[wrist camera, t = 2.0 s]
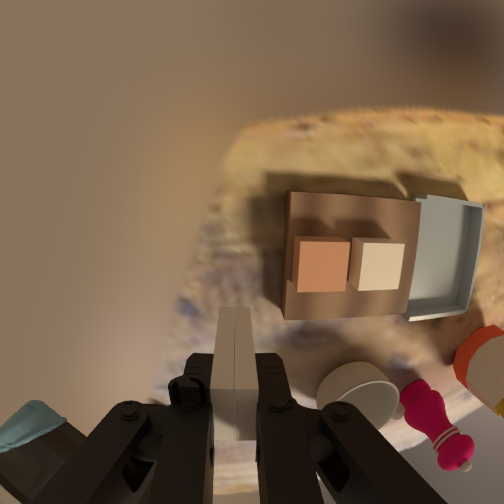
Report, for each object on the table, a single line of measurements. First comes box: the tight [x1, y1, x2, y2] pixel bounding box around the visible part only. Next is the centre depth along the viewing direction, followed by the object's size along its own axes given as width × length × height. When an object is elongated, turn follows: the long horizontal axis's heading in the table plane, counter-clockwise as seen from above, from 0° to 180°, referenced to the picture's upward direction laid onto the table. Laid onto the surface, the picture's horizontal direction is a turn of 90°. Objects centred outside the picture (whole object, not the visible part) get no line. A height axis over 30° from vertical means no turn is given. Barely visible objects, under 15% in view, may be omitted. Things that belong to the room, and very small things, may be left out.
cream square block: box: [348, 237, 405, 291], centre depth 29 cm, size 5×5×3 cm
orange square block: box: [292, 236, 350, 292], centre depth 29 cm, size 5×5×3 cm
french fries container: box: [453, 325, 504, 418], centre depth 30 cm, size 5×11×18 cm, turn 128°
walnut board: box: [281, 191, 421, 320], centre depth 32 cm, size 16×14×3 cm
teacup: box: [316, 361, 405, 430], centre depth 34 cm, size 14×11×8 cm
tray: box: [401, 193, 485, 321], centre depth 33 cm, size 12×16×4 cm
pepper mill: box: [399, 380, 474, 472], centre depth 30 cm, size 7×7×20 cm
